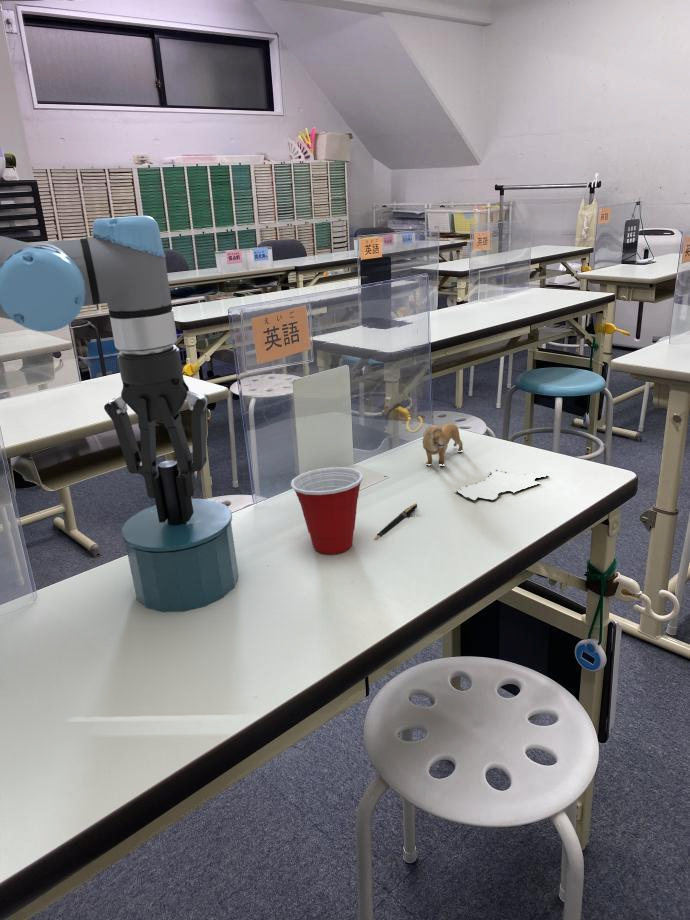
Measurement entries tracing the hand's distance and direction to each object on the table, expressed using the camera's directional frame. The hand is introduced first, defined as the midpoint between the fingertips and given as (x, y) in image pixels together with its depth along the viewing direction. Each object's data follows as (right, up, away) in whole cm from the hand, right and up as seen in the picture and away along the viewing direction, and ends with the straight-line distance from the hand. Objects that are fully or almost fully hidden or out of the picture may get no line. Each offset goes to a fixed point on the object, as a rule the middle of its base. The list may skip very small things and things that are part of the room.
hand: (176, 517), depth 94 cm
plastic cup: (+21, -6, +12) cm, 25 cm away
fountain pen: (+31, -3, +18) cm, 36 cm away
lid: (0, -1, 0) cm, 1 cm away
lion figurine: (+43, +7, +42) cm, 60 cm away
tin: (+1, -10, +4) cm, 11 cm away
